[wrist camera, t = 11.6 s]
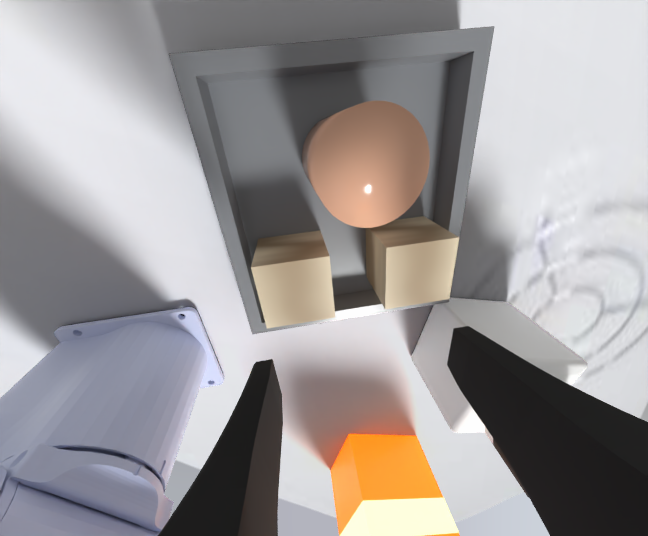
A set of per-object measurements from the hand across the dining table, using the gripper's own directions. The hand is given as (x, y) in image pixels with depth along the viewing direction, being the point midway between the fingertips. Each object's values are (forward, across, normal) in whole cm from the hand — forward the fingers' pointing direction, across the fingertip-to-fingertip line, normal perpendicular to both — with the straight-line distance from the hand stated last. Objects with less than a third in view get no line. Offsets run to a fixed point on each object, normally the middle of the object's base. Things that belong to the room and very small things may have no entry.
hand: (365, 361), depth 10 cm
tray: (+9, -1, -4) cm, 10 cm away
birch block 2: (+9, -4, 0) cm, 10 cm away
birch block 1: (+9, +2, 0) cm, 9 cm away
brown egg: (+9, -1, -7) cm, 11 cm away
